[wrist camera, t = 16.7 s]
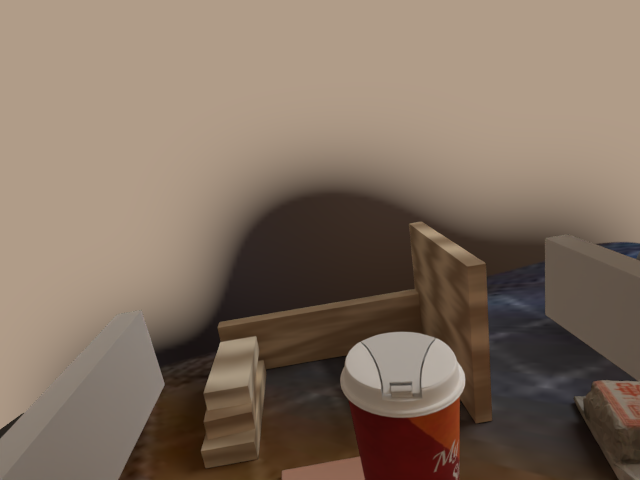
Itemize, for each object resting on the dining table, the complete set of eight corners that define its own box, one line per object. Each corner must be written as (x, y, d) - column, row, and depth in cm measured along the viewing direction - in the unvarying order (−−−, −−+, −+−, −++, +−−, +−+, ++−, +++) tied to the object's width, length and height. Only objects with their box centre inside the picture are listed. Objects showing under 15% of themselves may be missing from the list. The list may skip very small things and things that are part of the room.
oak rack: (492, 420, 38) (485, 263, 34) (204, 472, 37) (161, 317, 33) (430, 334, 54) (421, 221, 50) (230, 368, 53) (204, 257, 49)
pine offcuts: (258, 458, 38) (245, 405, 36) (201, 469, 37) (186, 415, 36) (266, 373, 51) (257, 331, 49) (224, 380, 51) (214, 339, 49)
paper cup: (487, 596, 24) (477, 394, 20) (359, 588, 25) (330, 398, 22) (461, 484, 31) (452, 323, 28) (364, 483, 33) (343, 329, 29)
